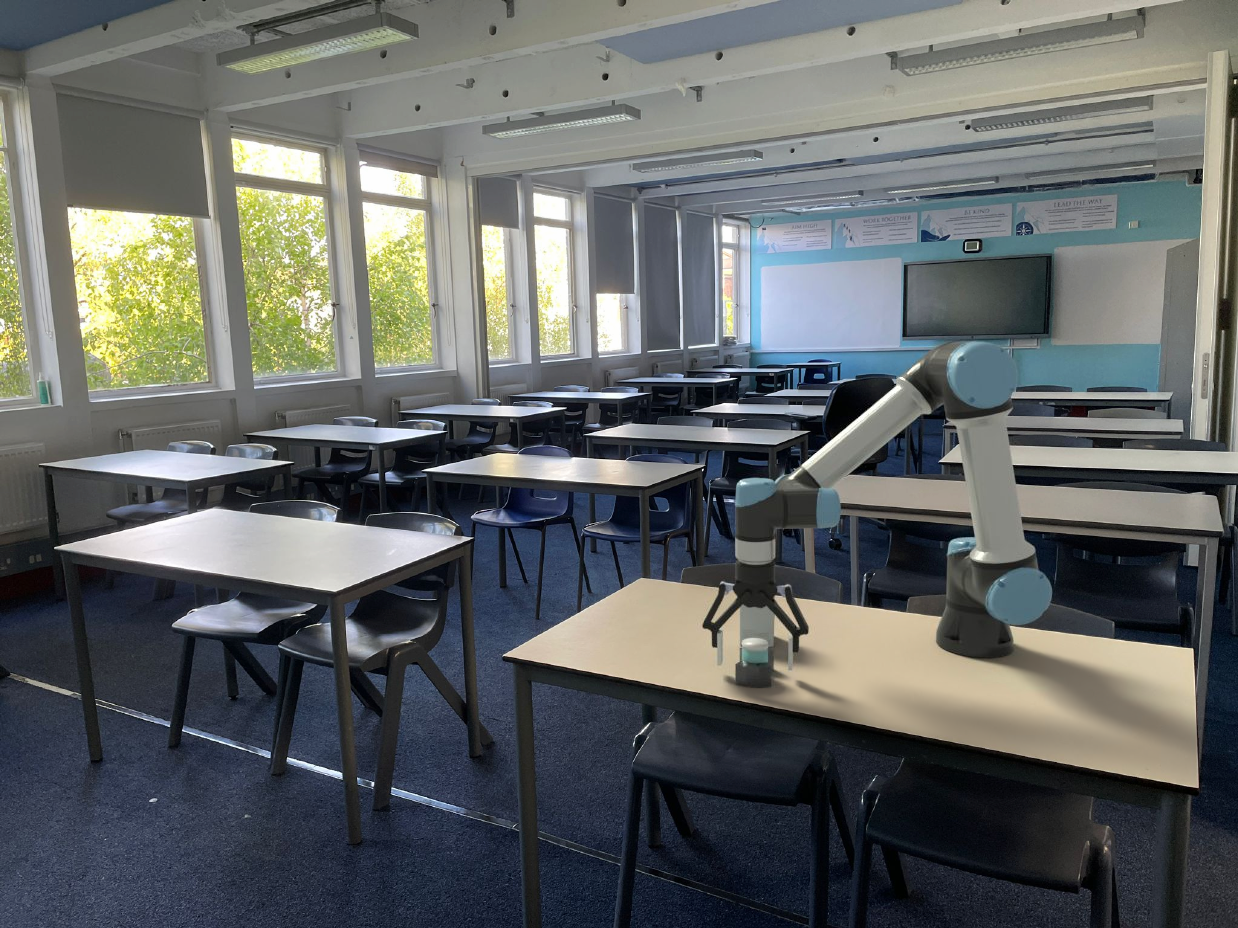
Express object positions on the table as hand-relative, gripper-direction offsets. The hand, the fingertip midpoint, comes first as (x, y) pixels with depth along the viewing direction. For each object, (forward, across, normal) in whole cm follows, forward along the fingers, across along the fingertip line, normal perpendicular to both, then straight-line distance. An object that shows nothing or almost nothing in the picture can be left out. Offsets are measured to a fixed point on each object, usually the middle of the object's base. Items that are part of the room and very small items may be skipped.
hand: (755, 665), depth 168 cm
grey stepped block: (+2, 0, 0) cm, 2 cm away
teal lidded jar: (+2, 0, 0) cm, 2 cm away
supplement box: (+2, +1, -20) cm, 20 cm away
